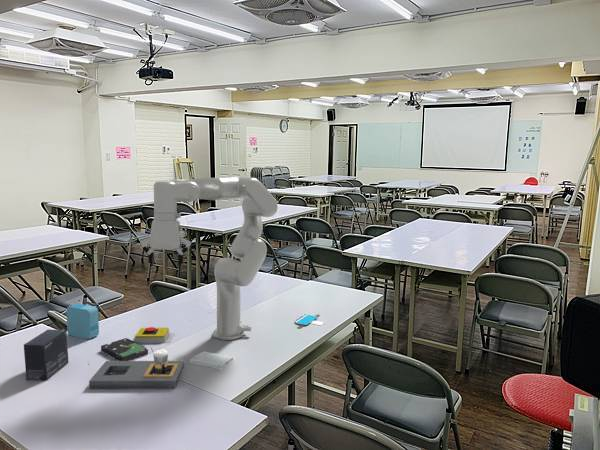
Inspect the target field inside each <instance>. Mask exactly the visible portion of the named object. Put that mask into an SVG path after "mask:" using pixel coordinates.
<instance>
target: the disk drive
mask: <svg viewBox="0 0 600 450" xmlns="http://www.w3.org/2000/svg"><path fill="white" fill-rule="evenodd" d="M132 340H133V339H130V338H127V337H124V338H122V339H119V340H115V341H112V342H110V343H105V344H102V345H100V352H101V353H103V354H105V355H106V356H109V357H111V358H113V359H115V361H134V360H135V359H137V358H141V357H142V356H143V357H144V356H146V355H148V354H149V349H148V348H147V347H146V346H145V345H142V344H141V343H136V342H134V341H132Z"/></svg>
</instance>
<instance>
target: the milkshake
mask: <svg viewBox="0 0 600 450" xmlns="http://www.w3.org/2000/svg"><path fill="white" fill-rule="evenodd" d="M150 349H151V352H152V354H153V355H152V356H153V361H154V363H155V371H156V373H155V375H168V373H167V361H169V360H168V359H169V358H168V357H169V351H168V350H166V349H165V348H164V349H163V348H160V349H157V350H156V351H154V350H153V349H152V347H150Z"/></svg>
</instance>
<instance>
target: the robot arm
mask: <svg viewBox="0 0 600 450" xmlns="http://www.w3.org/2000/svg"><path fill="white" fill-rule="evenodd" d="M198 199H199V200H206V201H207V200H208V201H221V200H223V201H224V200H233V199H235V200H236V199H242V202H241V209H242V213H243V219H244V220H243V224H242V225H241V228H240V230H239V231H238V232H237V233H238V234H237V235H236V237H235V238H234V240H233V241H232V243H231V246H230V250H229V251H230V254H231V255H232V257H235V258H230V257H223V258H220V259H219V260H218V261H217V262H216V263H215V265H214V269H213V270H214V278H215V283H216V328H215V329H214V330H213V331H212V336H213V337H214V338H215V339H218V340H222V341H232V340H237V339H239V338H240V339H241V337H243V336H244V334H245V332H251V331H252V326H249V324H243V323H242V320H241V297H242V296H241V293H242V291H241V288H240V287H247V286H249V285H250V284H251V283H252V282H253V281H254V279H255V277H256V276H257V274H258V272H259V270H260V268H261V267H262V265H263V263H264V261H265V259H266V256H267V252H268V247H267V245H266V243H265V241H264V240H262V239H260V237H261V235H262V233H263V229H264V227H263V226H264V225H263V221H262V217H263V218H271V217H273V216H275V215H276V213H277V211H278V202H277V199H276V198H275V197H274V196H273V194H272V193H271V192H270V191H269V190H268V188H267V187H266V186H265V185H264V184H263V183H262V182H261V181H260V180H259V179H257V178H255V177H248V176H247V177H245V176H232V177H231V176H228V177H227V176H226V177H207V178H206V177H205V178H188V179H187V178H186V179H183V178H182V179H181V178H180V179H172V180H169V181H168V180H163V181H162V180H161V181H160V180H158V181H155V182H154V184H153V220H152V222H151V227H150V237H148V238H145V239H143V240H141V241H140V242H139V243H140V246H141V247H142V249H143V251H144V252H146V254H147V255H148V263H149V267H153V266H154V265H155V253H154V251H155V250H157V251H158V250H159V251H163V250H164V251H176V252H177V253H178V256H177V266H178V267H181V266H182V265H183V264H184V254H185V253H186V252H187V251H189V249H190V246H192V245H191V244H192V242H191V241H190V240H188V239H186V238H184V237H183V236H182V228H181V222H180V220H178V219H181V218H182V214H181V213H178V211H177V210H178V209H177V208H178V207H177V206H178V205H177V204H178V202H184V203H185V202H186V203H193V202H195V201H196V200H198ZM148 242H149V245H150V246H149V247H148V245H147V243H148ZM183 244H185V247H182V246H183ZM239 259H240V260H239Z"/></svg>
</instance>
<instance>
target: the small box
mask: <svg viewBox="0 0 600 450" xmlns="http://www.w3.org/2000/svg"><path fill="white" fill-rule="evenodd" d="M67 334H68V332H67V329H46V330H45V331H44V332H42V333H40V334H39V335H37V336H35V337H34V338H32V339H30V340H29V341H27V342H26V343H24V344H23V354H24V355H23V356H24V364H25V365H24V366H25V379H26V381H48V380H49V379H50V378H52V377H53V376H54V375H56V373H58V372H59V371H60V370H61V369H62V368H64V367H65V366H66V365H67V364H69V352H68V351H69V350H68V338H67V337H68V335H67Z"/></svg>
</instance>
